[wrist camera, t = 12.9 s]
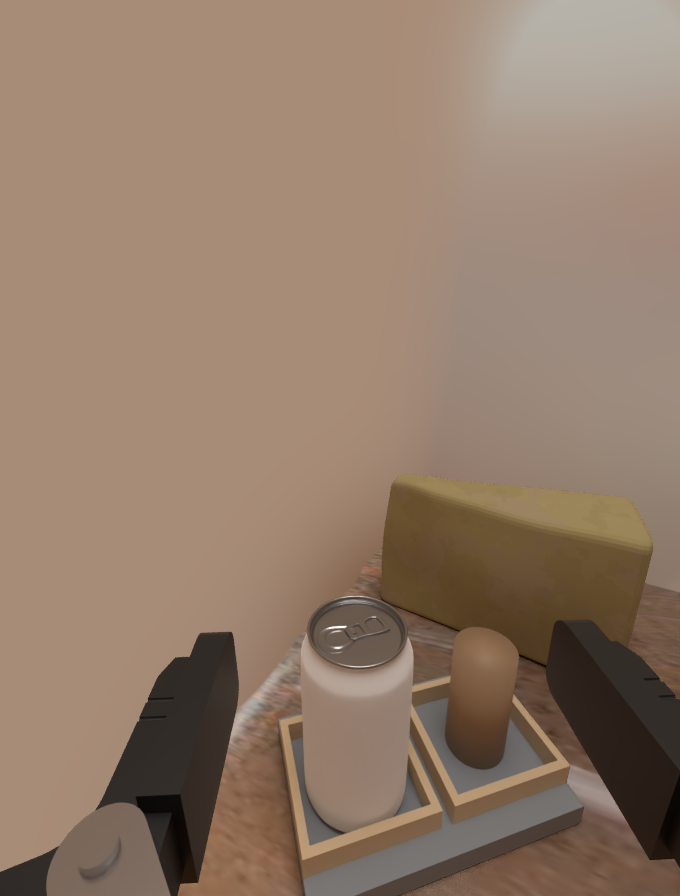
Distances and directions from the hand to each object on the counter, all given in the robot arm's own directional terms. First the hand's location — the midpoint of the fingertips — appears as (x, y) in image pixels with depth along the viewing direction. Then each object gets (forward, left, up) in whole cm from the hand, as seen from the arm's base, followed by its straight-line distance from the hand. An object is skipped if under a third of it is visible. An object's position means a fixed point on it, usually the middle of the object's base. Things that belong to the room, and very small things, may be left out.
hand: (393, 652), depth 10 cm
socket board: (-7, -11, -22) cm, 25 cm away
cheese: (-20, -22, -22) cm, 37 cm away
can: (-3, -10, -21) cm, 23 cm away
